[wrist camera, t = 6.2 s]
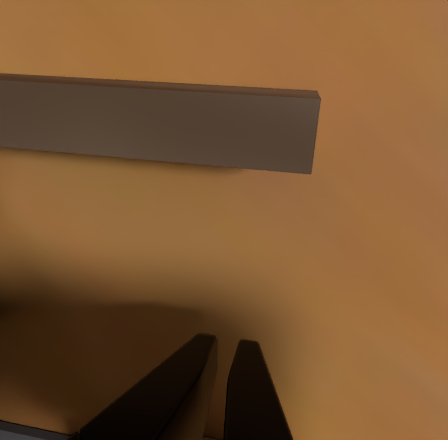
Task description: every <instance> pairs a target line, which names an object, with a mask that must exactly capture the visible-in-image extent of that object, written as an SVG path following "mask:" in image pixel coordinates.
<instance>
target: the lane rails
mask: <svg viewBox="0 0 448 440" xmlns="http://www.w3.org/2000/svg"><path fill="white" fill-rule="evenodd" d="M320 102H321V98H320V96H319V94H318V92H317V91H310V90H292V89H274V88H256V87H237V86H219V85H201V84H183V83H165V82H147V81H129V80H111V79H92V78H74V77H56V76H38V75H20V74H2V73H0V147H7V148H19V149H30V150H41V151H52V152H64V153H75V154H86V155H98V156H109V157H120V158H132V159H143V160H154V161H166V162H177V163H188V164H200V165H211V166H222V167H234V168H245V169H256V170H268V171H279V172H290V173H302V174H311V172H312V164H313V156H314V148H315V141H316V133H317V125H318V117H319V109H320ZM202 440H217V439H212V438H207V437H202Z"/></svg>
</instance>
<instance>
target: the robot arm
mask: <svg viewBox="0 0 448 440" xmlns="http://www.w3.org/2000/svg"><path fill="white" fill-rule="evenodd" d="M217 346H218V340H217V337H216V336H215V335H211V334H204V333H199V334H197V335H196V336H194V337H193V338H192V339H191V340H190V341H188V342H187V343H186V344H185V345H183V346H182V347H181V348H180V349H178V350H177V351H176V352H175V353H173V354H172V355H171V356H170V357H168V358H167V359H166V360H165V361H164V362H162V363H161V364H160V365H159V366H157V367H156V368H155V369H154V370H152V371H151V372H150V373H149V374H147V375H146V376H145V377H144V378H142V379H141V380H140V381H139V382H138V383H136V384H135V385H134V386H133V387H131V388H130V389H129V390H128V391H126V392H125V393H124V394H123V395H121V396H120V397H119V398H118V399H116V400H115V401H114V402H113V403H112V404H110V405H109V406H108V407H107V408H105V409H104V410H103V411H102V412H100V413H99V414H98V415H97V416H95V417H94V418H93V419H92V420H90V421H89V422H88V423H87V424H86V425H84V426H83V427H82V428H81V429H80V433H79V432H75V433H74V434H73V435H72V436H70V437H69V438H68V439H67V440H202V437H203V433H204V429H205V424H206V419H207V415H208V410H209V405H210V401H211V396H212V391H213V387H214V382H215V377H216V372H217ZM223 440H293V437H292V434H291V431H290V429H289V426H288V423H287V420H286V417H285V415H284V412H283V409H282V406H281V403H280V401H279V398H278V395H277V392H276V389H275V387H274V384H273V381H272V378H271V375H270V373H269V370H268V367H267V364H266V361H265V359H264V356H263V353H262V350H261V347H260V345H259V343H258V342H257V341H252V340H245V339H241V340H240V341H239V343H238V346H237V349H236V353H235V356H234V359H233V363H232V366H231V369H230V373H229V377H228V383H227V394H226V408H225V422H224V436H223Z"/></svg>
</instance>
